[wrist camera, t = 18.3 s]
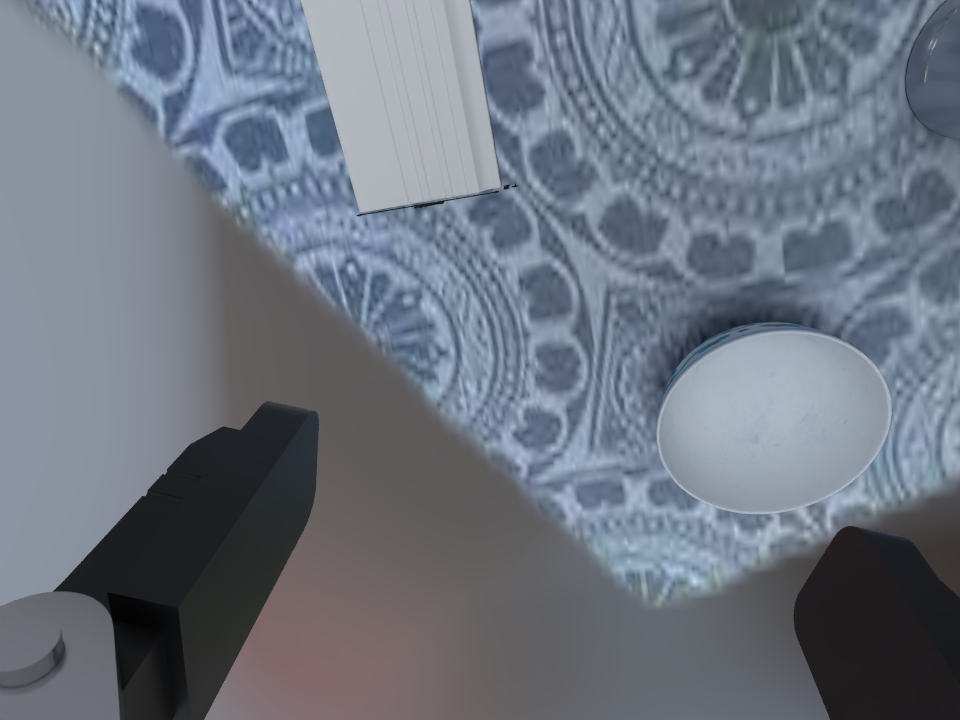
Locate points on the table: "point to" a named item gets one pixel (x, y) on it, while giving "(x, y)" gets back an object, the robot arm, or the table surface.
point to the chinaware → (771, 418)
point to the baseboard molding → (406, 98)
